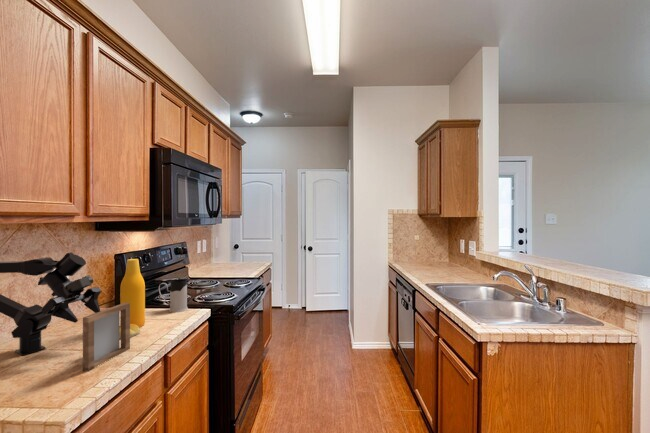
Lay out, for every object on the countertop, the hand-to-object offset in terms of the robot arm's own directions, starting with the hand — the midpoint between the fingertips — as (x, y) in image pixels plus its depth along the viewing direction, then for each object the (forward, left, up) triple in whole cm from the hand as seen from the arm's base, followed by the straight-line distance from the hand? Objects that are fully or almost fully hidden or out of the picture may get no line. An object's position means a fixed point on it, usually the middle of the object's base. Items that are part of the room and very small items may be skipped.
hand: (88, 317), depth 112 cm
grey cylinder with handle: (-18, +47, -12) cm, 51 cm away
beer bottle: (-12, +23, -12) cm, 28 cm away
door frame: (+12, 0, -12) cm, 17 cm away
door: (+8, -1, -12) cm, 14 cm away
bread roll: (-4, +16, -13) cm, 21 cm away
